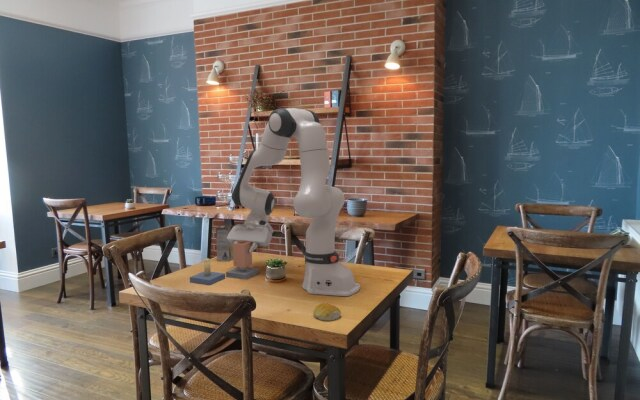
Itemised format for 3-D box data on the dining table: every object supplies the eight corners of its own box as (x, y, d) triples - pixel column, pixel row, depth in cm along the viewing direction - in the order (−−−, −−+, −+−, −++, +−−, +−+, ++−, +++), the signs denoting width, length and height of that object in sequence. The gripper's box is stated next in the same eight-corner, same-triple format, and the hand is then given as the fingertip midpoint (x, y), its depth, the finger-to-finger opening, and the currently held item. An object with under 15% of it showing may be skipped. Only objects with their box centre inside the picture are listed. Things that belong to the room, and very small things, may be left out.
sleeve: (252, 264, 191) (251, 241, 190) (244, 267, 186) (243, 244, 185) (241, 263, 193) (240, 240, 192) (233, 266, 188) (232, 243, 187)
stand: (259, 273, 193) (258, 250, 192) (246, 279, 184) (245, 255, 183) (239, 270, 197) (239, 248, 196) (226, 276, 188) (225, 253, 187)
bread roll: (327, 309, 151) (327, 298, 150) (344, 317, 144) (344, 305, 143) (307, 315, 146) (307, 303, 146) (324, 323, 139) (324, 311, 138)
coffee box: (221, 256, 222) (220, 224, 220) (234, 256, 222) (233, 224, 220) (216, 261, 213) (215, 228, 211) (230, 261, 212) (229, 228, 210)
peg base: (225, 278, 186) (224, 256, 185) (209, 285, 177) (208, 262, 176) (205, 275, 190) (205, 254, 189) (189, 282, 181) (189, 259, 180)
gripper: (231, 219, 199) (218, 246, 191) (271, 222, 190) (259, 250, 182) (237, 228, 203) (225, 253, 196) (276, 231, 195) (265, 258, 187)
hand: (242, 252), depth 189 cm, fingers closed on sleeve, 6 cm apart
